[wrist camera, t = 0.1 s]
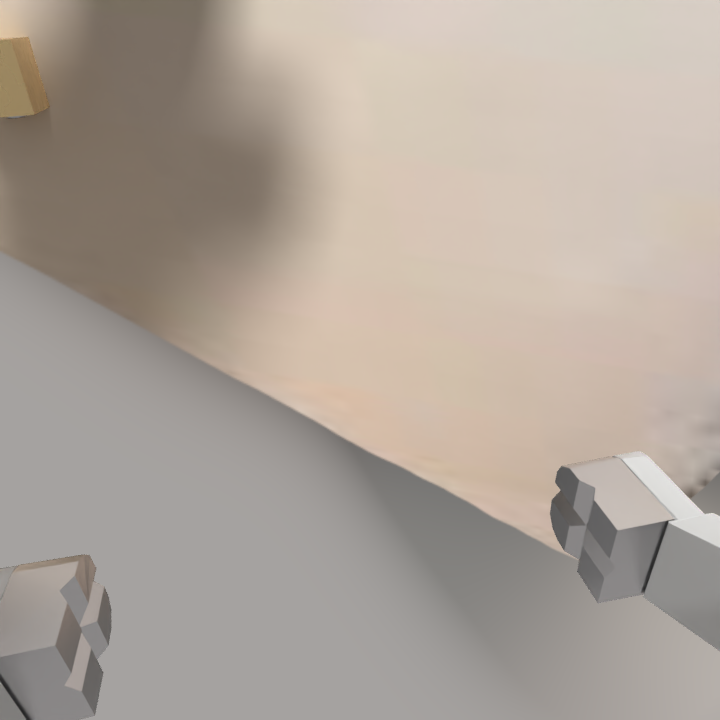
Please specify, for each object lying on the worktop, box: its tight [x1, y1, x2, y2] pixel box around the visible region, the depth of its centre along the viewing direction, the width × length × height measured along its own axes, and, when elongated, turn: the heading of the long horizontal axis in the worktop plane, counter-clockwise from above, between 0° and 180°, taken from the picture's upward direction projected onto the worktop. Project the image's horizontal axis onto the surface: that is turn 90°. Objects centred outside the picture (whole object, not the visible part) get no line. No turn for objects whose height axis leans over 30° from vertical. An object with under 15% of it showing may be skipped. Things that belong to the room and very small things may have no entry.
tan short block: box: [0, 37, 50, 118], centre depth 43 cm, size 5×4×4 cm
